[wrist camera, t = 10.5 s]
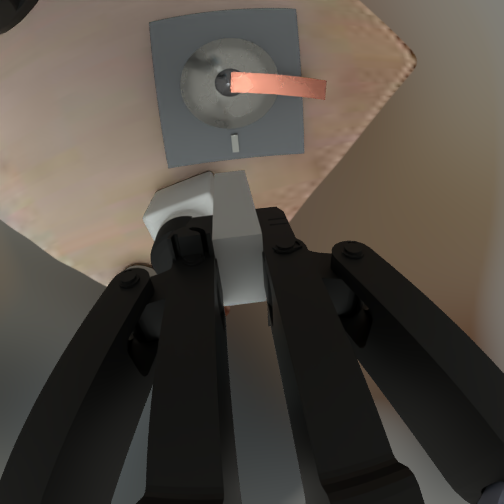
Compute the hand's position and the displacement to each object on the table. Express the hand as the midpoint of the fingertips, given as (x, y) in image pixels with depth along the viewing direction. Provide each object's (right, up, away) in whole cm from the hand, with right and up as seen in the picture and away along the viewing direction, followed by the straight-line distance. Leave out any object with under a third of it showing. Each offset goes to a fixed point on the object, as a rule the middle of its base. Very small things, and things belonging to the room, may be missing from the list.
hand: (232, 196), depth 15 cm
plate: (-2, +16, +14) cm, 21 cm away
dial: (+1, +15, +12) cm, 20 cm away
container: (-6, +3, +22) cm, 23 cm away
